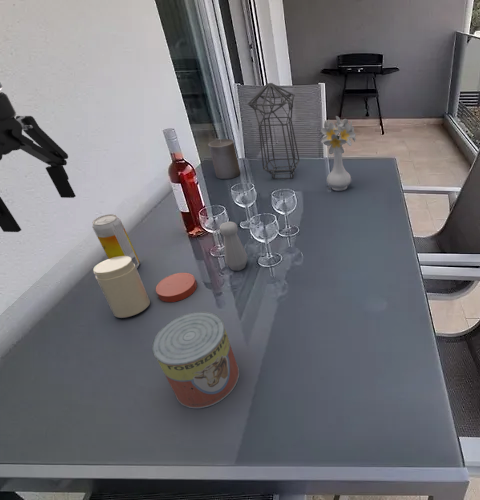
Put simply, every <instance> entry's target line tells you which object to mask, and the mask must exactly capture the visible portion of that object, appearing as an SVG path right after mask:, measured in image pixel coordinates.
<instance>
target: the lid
mask: <svg viewBox="0 0 480 500" xmlns="http://www.w3.org/2000/svg"><path fill="white" fill-rule="evenodd" d="M197 287H198V283H197V280H196V278H195V276H194V274H191V273H189V272H177V273H173V274H170V275H167V276H166V277H164V278H162V279H161V280H160V281H159V282H158V283H157V285H156V286H155V293H156V295H157V297H158V299H159V300H160V301H162V302H164V303H175V302H179V301H183V300H185V299H186V298H189V297H190V296H191V295H192V294H194V292H195V291H196V290H197Z"/></svg>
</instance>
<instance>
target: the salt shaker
mask: <svg viewBox="0 0 480 500" xmlns="http://www.w3.org/2000/svg"><path fill="white" fill-rule="evenodd" d="M238 228H239V227H238V224H237V223H236V222H234V221H225V222H222V223H221V224H220V225H219V233H220V234H221V236H223V246H224V247H223V249H224V250H223V251H224V252H223V253H224V263H225V265H226V266H227V267H229V269H230V270H231V271H237V272H239V271H242V270H243V269H246V266H247V263H248V259H249V258H248V254H247V252H246V250H245V247H244V245H243V243H242V241H241V239H240V237H239V235H238V231H239V229H238Z"/></svg>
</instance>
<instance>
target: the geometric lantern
mask: <svg viewBox="0 0 480 500" xmlns="http://www.w3.org/2000/svg"><path fill="white" fill-rule="evenodd" d="M264 92H265V95H263V94H264ZM285 93H286V94H285ZM268 94H269V96H268ZM275 94H277V96H275ZM295 96H296V95H295V94H294V93H292V92H290V91H288V90H286V89H284V88H282V87H281V86H278V85H277V84H274V83H273V82H266V84H264V86H263V87H262V88H261V90H260V91H259V92H257V94H255V96H254V97H252V98H251V99H250V100H249V101H248V102H247V105H248V106H249V107H250V108H251V109H252V110H254V114H255V118H256V121H257V123H258V124H257V125H258V134H259V135H258V136H259V144H260V154H261V162H262V170H263V171H265V172H267V173H269V174H270V175H271V178H272V179H273V180H278V179H279V180H281V179H282V180H283V179H284V180H287V179H289V180H290V179H293V178H294V176H295V170H296V169H297V167H298V165H299V163H300V155H299V150H298V146H297V145H298V144H297V140H296V139H297V138H296V134H295V130H294V125H293V108H294V100H295ZM260 98H261V99H262V100H263V101H262V103H258V100H259V99H260ZM272 99H273V102H272ZM276 99H280V103H279V102H278V103H276ZM266 102H268V103H269V104H265V103H266ZM285 105H288V113H287V111H286V109H285V108H284V106H285ZM258 106H261V107H262V110H261V109H260V108H258ZM275 106H278V107H277V108H275V109H274V107H275ZM265 107H270V111H268V112H266V111H265ZM281 108H282V110H283V111H284V112H285V114H286V116H278V115H277V114H276V112H277V111H278V110H280V109H281ZM257 111H258V112H259V113H260V114H261V115H262V119H261V120H259V117H258V113H257ZM271 114H273V115H274V116H273V117H272V116H271ZM266 115H268V116H267V117H266ZM270 119H277V121H278V122H279V123H280V124H277V123H276V124H275V123H274V124H271V120H270ZM281 119H286V121H285V123H283V121H282V120H281ZM266 120H267V121H268V122H267V123H268V124H266ZM272 126H273V127H274V126H275V127H276V126H277V127H278V126H281V129H282V136H283V141H284V147H285V153H286V158H285V157H284V158H283V157H282V158H275V152H274V144H273V136H272V129H271V127H272ZM284 126H286V131H287V136H288V141H289V146H290V151H291V157H289V152H288V146H287V145H288V144H287V140H286V139H287V138H286V134H285V129H284ZM262 127H264V133H265V141H264V134H263V128H262ZM267 127H268V129H269V137H270V144H271V151H272V157H273V158H271V159H270V153H269V151H270V150H269V144H268V143H269V142H268V133H267ZM265 144H266V145H265ZM265 146H266V147H265ZM295 150H296V153H295ZM296 156H297V158H296ZM264 160H265V161H264ZM285 160H286V161H287V163H288V164H287V165H283V166H277V164H276V161H285ZM290 160H292V162H291V163H290ZM272 161H273V163H274V165H273V163H272ZM264 164H265V165H264ZM269 164H270V165H271V166H272V167H273V169H269ZM277 168H278V169H277ZM279 168H288V169H279ZM277 172H278V173H277ZM279 172H280V173H279ZM276 175H289V177H276Z"/></svg>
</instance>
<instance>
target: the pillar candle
mask: <svg viewBox="0 0 480 500" xmlns="http://www.w3.org/2000/svg"><path fill="white" fill-rule="evenodd" d="M207 146H208V149H209V153H210V156H211V160H212V161H211V162H212V164H213V168H214V172H215V177H216V178H217V179H219V180H231V179H235V178H237V177H239V176H240V174H241V170H240V167H239V166H240V165H239V160H238V157H237V151H236V147H235V142H234V140H233V139H230V138H219V139H215V140H212V141H210V142H208V144H207Z"/></svg>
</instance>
